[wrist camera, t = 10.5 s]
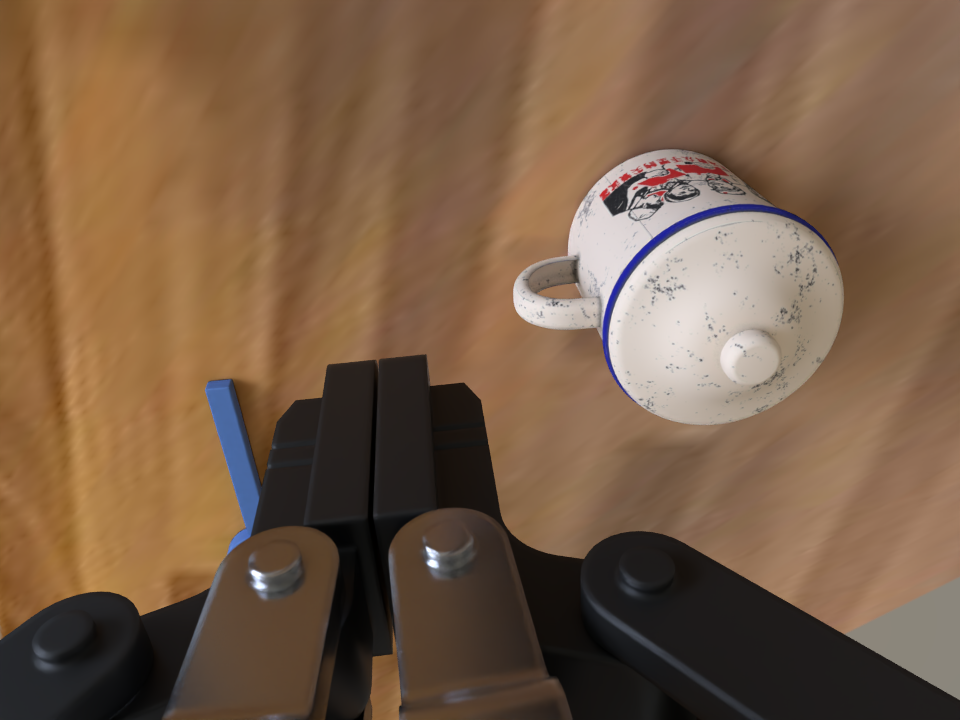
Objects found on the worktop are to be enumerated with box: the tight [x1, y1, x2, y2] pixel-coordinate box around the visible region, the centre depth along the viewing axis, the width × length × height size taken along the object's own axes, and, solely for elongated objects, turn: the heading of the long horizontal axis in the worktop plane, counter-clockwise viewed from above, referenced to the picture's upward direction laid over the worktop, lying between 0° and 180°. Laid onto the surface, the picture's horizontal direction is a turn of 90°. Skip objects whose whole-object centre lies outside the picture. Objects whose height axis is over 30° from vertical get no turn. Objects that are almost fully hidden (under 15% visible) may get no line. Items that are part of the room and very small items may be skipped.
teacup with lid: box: [513, 149, 844, 425], centre depth 31 cm, size 12×9×12 cm
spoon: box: [205, 379, 262, 555], centre depth 41 cm, size 14×4×1 cm, turn 4°
